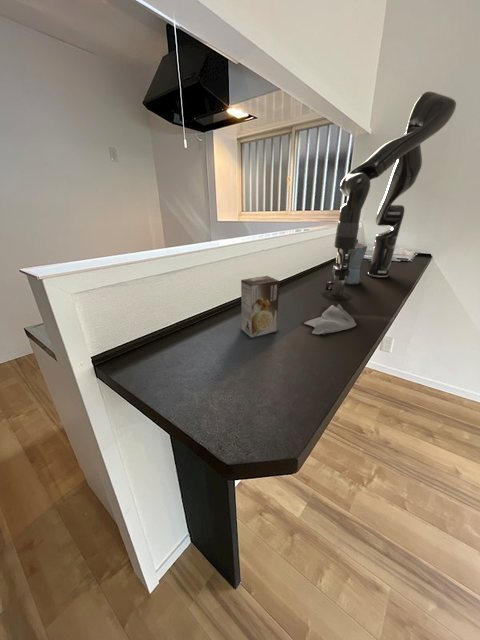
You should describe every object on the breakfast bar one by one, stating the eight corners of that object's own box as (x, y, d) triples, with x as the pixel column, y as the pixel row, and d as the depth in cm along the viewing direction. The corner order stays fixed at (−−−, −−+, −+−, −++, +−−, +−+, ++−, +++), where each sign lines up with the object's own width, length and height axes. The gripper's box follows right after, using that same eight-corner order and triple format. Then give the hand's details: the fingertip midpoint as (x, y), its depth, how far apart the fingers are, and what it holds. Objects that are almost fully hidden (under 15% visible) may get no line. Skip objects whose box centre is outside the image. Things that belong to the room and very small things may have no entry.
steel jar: (342, 292, 109) (346, 266, 105) (344, 296, 105) (349, 269, 100) (324, 291, 110) (327, 265, 106) (325, 295, 106) (329, 268, 101)
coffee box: (265, 323, 85) (268, 274, 78) (277, 331, 80) (280, 280, 73) (240, 329, 81) (240, 279, 74) (251, 338, 76) (251, 285, 69)
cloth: (338, 342, 74) (339, 335, 73) (295, 327, 82) (296, 321, 81) (369, 314, 91) (370, 308, 90) (331, 304, 100) (332, 298, 99)
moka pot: (337, 286, 120) (344, 240, 111) (339, 277, 132) (345, 235, 124) (359, 288, 116) (369, 242, 108) (359, 279, 129) (367, 237, 121)
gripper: (361, 237, 91) (353, 283, 97) (353, 232, 103) (346, 272, 110) (338, 237, 92) (332, 282, 99) (333, 232, 104) (327, 272, 111)
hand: (339, 277), depth 104 cm, fingers open, 8 cm apart
